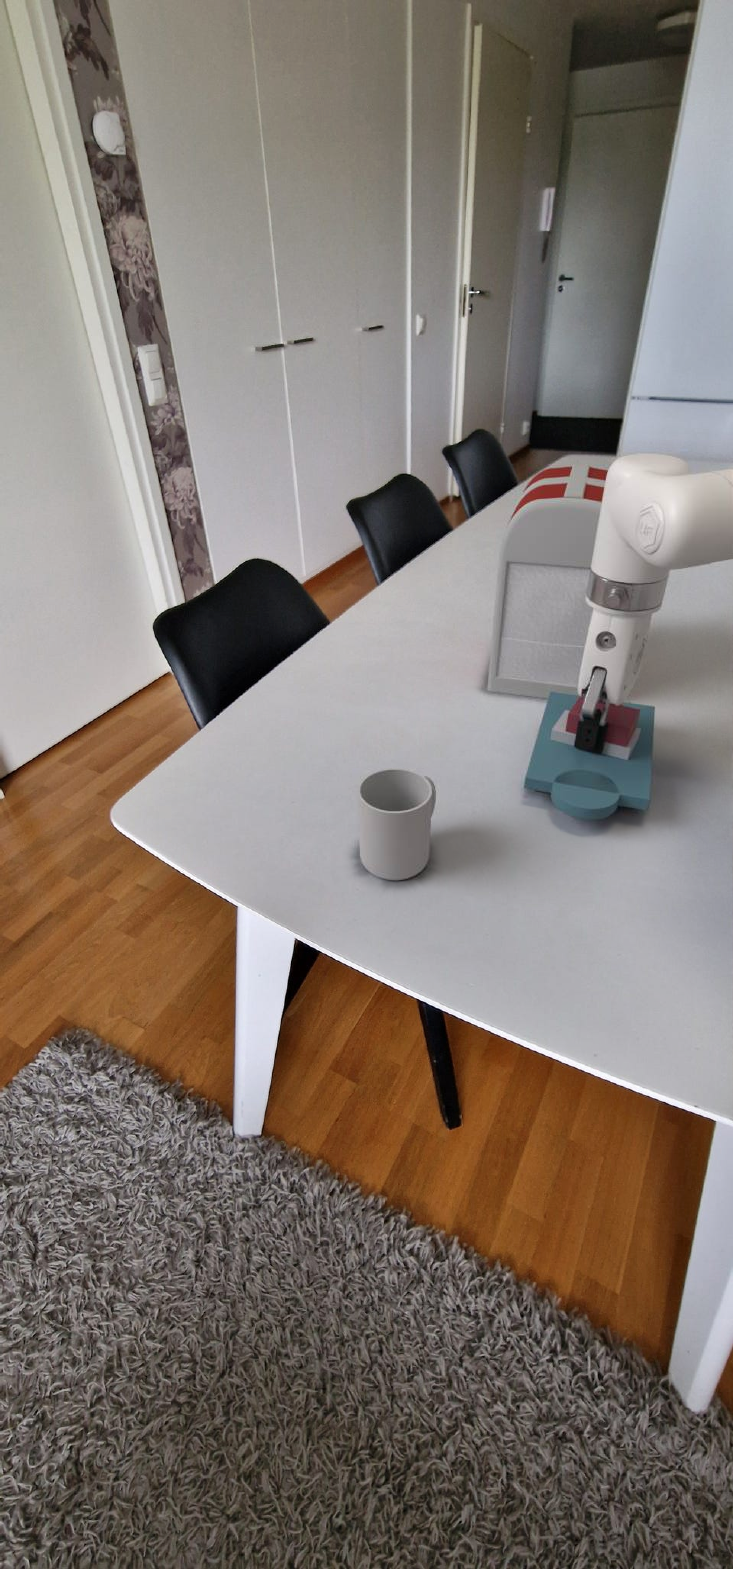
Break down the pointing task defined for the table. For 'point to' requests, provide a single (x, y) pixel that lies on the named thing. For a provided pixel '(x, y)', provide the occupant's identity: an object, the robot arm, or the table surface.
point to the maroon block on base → (619, 731)
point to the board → (590, 768)
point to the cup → (395, 822)
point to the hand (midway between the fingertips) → (595, 736)
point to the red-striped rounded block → (546, 584)
